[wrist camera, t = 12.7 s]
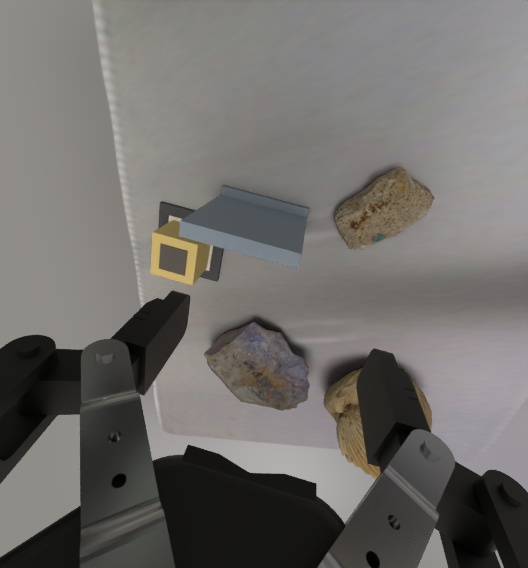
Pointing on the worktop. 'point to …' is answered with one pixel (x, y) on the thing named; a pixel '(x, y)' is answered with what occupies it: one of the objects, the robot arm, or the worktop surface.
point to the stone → (259, 367)
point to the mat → (216, 253)
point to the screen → (250, 226)
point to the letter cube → (177, 255)
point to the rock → (382, 209)
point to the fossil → (356, 420)
